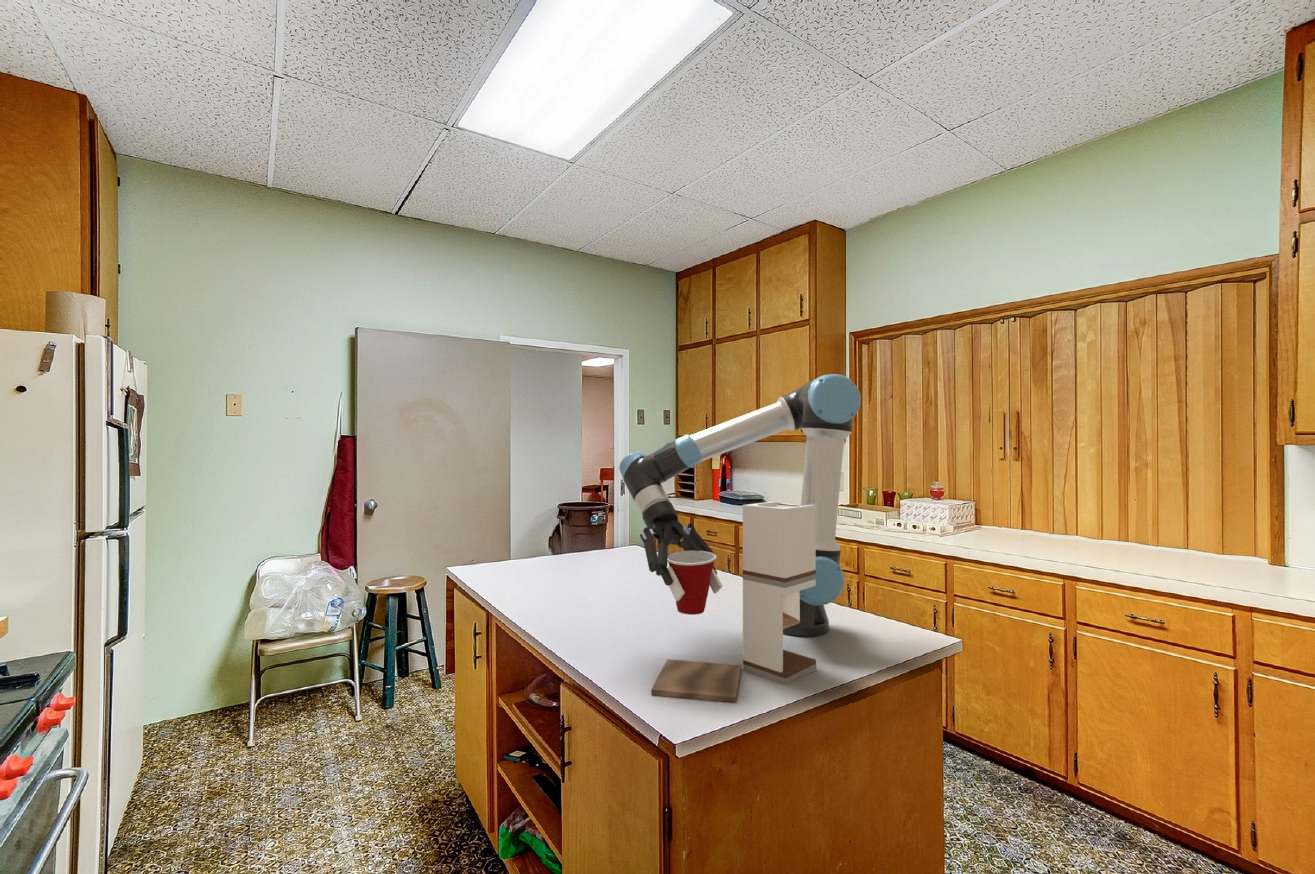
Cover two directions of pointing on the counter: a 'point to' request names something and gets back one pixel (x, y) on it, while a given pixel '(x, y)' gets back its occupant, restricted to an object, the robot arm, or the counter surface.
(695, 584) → the plastic cup
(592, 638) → the counter surface
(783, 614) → the white dispenser
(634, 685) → the counter surface
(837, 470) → the robot arm
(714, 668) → the walnut board
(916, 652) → the counter surface
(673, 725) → the counter surface
